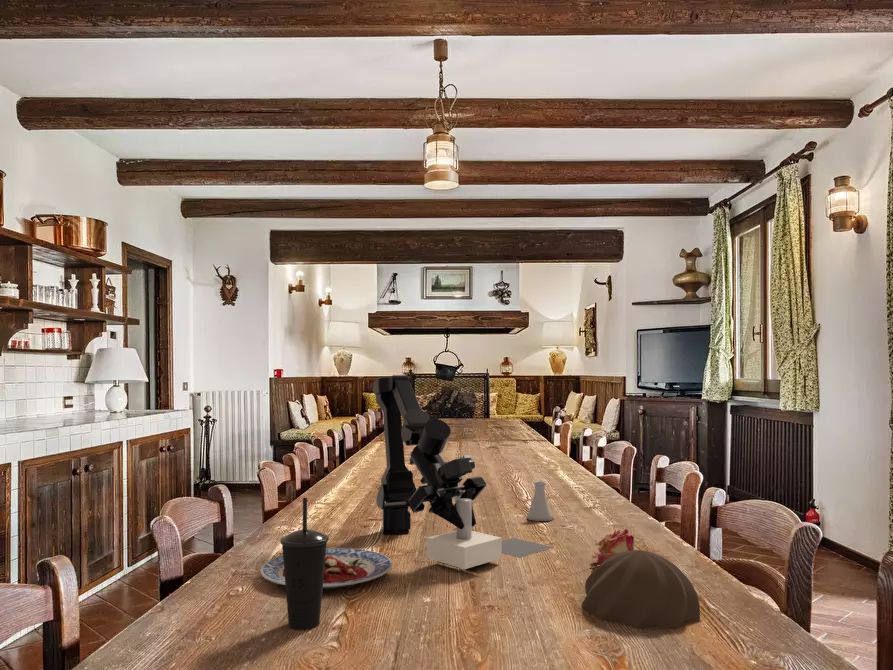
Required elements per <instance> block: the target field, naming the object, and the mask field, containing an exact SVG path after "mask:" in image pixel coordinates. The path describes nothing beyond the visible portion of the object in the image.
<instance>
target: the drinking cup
mask: <svg viewBox="0 0 893 670" xmlns="http://www.w3.org/2000/svg"><path fill="white" fill-rule="evenodd" d="M329 538H330V537H329V536H328V534H325V533H322V532H320V531H318V530H315V529H308V497H302V529H298V530H295V531H291V532H290V533H288V534H286V535H284V536H282V537H281V538H280V540H279V542H280V544H281V545H282V547H281V548H282V556H283V561H284V573H285V585H284V586H285V595H286V608H287V617H288V618H287V619H288V627H289V628H290V629H292V630H297V631H298V630H299V631H303V630H311V629H313V628H317V627H318V626H319V625H320V622H321V621H320V620H321V611H322V598H323V591H324V589H323V579H324V568H325V557H326V549H327V545H328V544H327V543H328V542H329Z"/></svg>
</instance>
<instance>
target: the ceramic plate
mask: <svg viewBox="0 0 893 670" xmlns="http://www.w3.org/2000/svg"><path fill="white" fill-rule="evenodd" d="M392 566H393V562H392V560H391V559H390V557H388V556H386V555H385V554H382V553H379V552H376V551H371V550H366V549H360V548H345V547H335V548H334V547H331V548H330V547H329V548H326V557H325V568H324V579H323V590H324V589H337V588H344V587H345V588H346V587H350V586H353V585H356V584H361V583H366V582H368V581H371V580H375V579H377V578H380V577H382V576H384V575H385V574H386V573H388V572H390V570H391V569H392ZM259 571H260V575H261V576H262V577H263V578H264V579H266V580H267V581H268V582H271V583H274V584H277V585H283V586H286V585H285V573H284V561H283V555H280V556H277V557H273V558H272V559H270V560H268V561H267V562H265V563H264V564H263V565H262V566H261V567H260V570H259Z"/></svg>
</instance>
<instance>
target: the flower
mask: <svg viewBox="0 0 893 670" xmlns="http://www.w3.org/2000/svg"><path fill="white" fill-rule="evenodd" d="M634 538H635V537H634V536H633V534H632V533H631V532H630V531H629V530H628V529H627V528H625V529H623V530H622V531H620V530H619V529H618V530H617V528H616V527H615V529H614V531H613V533H612V534H611V533H610V534H607V535H605V536H604V537H603V538H601V539H600V540H599V541H597V543H595V545H596V546H598V548H597V550H598V551H597V552H593V553H592V554H591V558H593V559H596V558H597V560H596V563H597V564H598V566H599V567H600V566H601V564H602V563H603V562H604V561H605V560H606V559H607V558H609V557H611V556H613V555H615V554H618V553H621V552H626V551H630V550H635V549H634V544H635V542H634V541H635V540H634Z"/></svg>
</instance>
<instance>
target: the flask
mask: <svg viewBox="0 0 893 670" xmlns="http://www.w3.org/2000/svg"><path fill="white" fill-rule="evenodd" d="M533 484H534V492H533V493H534V494H533V497H532V501H531V504H530V507H529V510H528V513H527V515H526V518H527V519H528V520H529V521H535V522H550V521H552V520H554V517H553V513H552V511H551V508H550V505H549V502H548V498H547V495H546V494H547V493H546V490H545V489H546V487H545V486H546V484H547V483H546V482H545V481H534V482H533Z"/></svg>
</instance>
